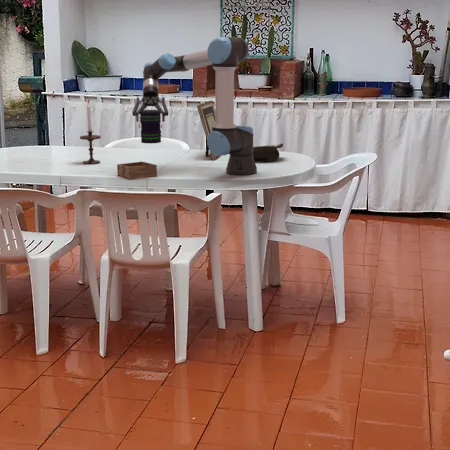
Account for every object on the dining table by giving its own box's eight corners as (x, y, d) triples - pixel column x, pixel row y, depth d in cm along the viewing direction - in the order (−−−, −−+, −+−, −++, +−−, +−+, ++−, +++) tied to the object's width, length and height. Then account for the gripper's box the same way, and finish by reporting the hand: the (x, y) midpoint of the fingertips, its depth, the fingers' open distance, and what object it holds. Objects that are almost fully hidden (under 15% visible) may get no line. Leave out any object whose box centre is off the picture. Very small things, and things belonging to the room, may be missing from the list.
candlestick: (102, 161, 408) (98, 96, 400) (101, 164, 397) (98, 97, 389) (81, 161, 406) (78, 96, 398) (81, 165, 396) (77, 98, 388)
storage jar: (137, 143, 359) (136, 111, 355) (145, 140, 368) (144, 109, 364) (157, 143, 356) (156, 112, 352) (164, 140, 365) (163, 110, 362)
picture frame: (214, 160, 406) (214, 105, 399) (197, 160, 408) (195, 104, 400) (226, 152, 437) (226, 100, 430) (210, 151, 439) (209, 100, 432)
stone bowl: (286, 162, 395) (285, 145, 393) (239, 166, 396) (238, 149, 393) (282, 155, 419) (281, 138, 417) (238, 159, 419) (237, 142, 417)
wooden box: (157, 176, 360) (156, 165, 358) (131, 179, 352) (130, 168, 351) (142, 172, 371) (142, 161, 369) (117, 175, 363) (117, 164, 362)
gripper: (173, 95, 372) (174, 130, 361) (128, 95, 371) (127, 131, 360) (173, 85, 366) (173, 121, 354) (127, 85, 364) (126, 121, 353)
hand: (150, 126), depth 357 cm, fingers closed on storage jar, 10 cm apart
